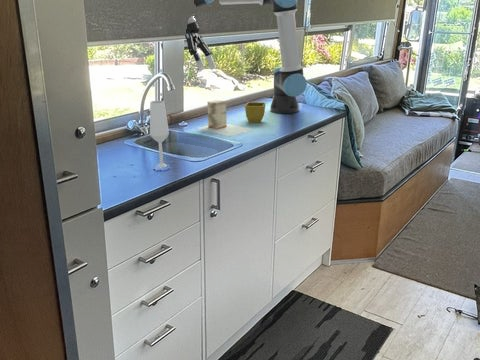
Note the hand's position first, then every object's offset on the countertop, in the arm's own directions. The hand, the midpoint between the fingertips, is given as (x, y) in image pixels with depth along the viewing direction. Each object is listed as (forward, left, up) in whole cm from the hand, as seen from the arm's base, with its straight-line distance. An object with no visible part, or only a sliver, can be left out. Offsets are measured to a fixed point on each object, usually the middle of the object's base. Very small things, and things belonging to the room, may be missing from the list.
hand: (207, 68), depth 230 cm
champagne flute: (-1, +64, -27) cm, 69 cm away
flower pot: (-20, -11, -27) cm, 36 cm away
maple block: (-5, +4, -27) cm, 27 cm away
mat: (-9, +6, -27) cm, 29 cm away
